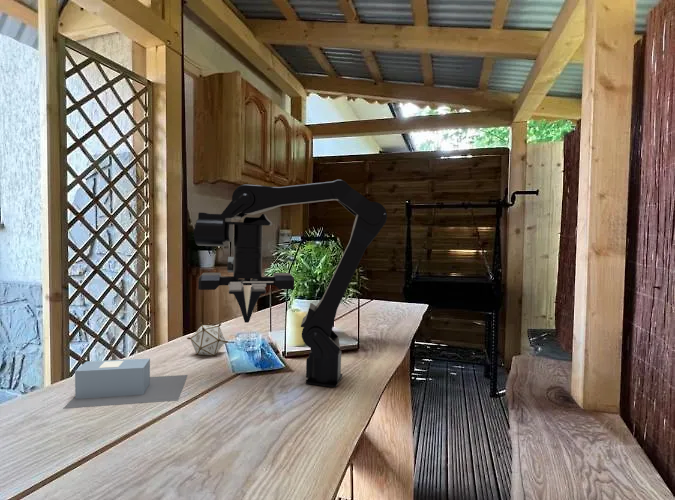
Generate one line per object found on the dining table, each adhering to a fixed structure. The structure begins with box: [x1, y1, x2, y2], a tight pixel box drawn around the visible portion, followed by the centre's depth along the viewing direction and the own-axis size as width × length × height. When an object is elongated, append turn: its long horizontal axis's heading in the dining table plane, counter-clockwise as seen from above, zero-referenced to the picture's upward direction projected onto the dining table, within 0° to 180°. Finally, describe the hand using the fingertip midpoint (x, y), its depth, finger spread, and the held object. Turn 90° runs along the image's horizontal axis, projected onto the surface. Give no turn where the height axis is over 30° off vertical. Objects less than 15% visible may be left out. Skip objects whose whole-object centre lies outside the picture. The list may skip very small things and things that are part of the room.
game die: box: [186, 321, 229, 357], centre depth 93 cm, size 9×8×10 cm
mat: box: [62, 374, 189, 410], centre depth 72 cm, size 18×12×1 cm, turn 104°
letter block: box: [74, 358, 151, 399], centre depth 71 cm, size 5×5×11 cm
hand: (246, 322), depth 80 cm, fingers closed
